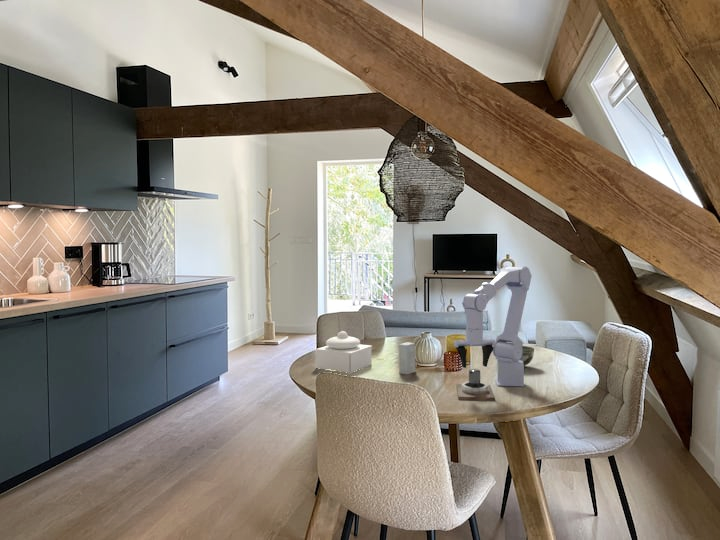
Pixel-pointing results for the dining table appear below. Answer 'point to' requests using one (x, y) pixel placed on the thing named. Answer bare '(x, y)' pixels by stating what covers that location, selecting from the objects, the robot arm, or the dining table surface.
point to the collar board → (474, 392)
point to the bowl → (527, 355)
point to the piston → (474, 378)
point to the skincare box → (406, 358)
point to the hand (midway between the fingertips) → (474, 366)
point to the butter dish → (343, 354)
